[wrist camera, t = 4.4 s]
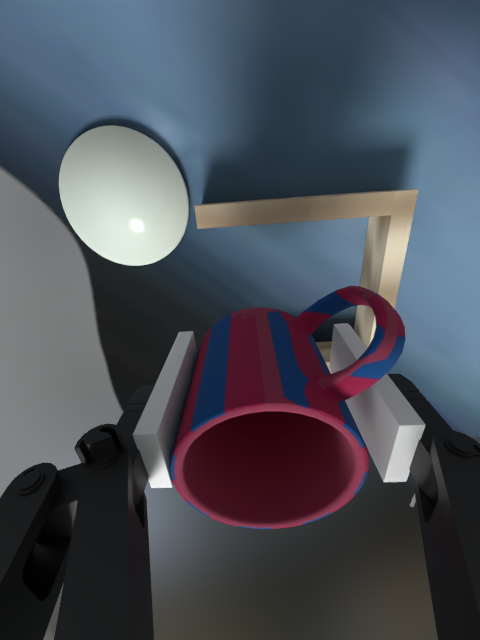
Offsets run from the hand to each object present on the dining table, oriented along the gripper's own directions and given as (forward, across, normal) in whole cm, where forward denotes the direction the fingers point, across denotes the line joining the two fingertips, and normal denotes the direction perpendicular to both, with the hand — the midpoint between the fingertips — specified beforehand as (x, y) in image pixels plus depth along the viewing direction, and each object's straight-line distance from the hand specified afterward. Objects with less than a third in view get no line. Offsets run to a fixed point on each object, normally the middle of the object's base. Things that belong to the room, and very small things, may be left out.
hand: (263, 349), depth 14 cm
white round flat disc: (+11, -10, +8) cm, 17 cm away
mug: (+1, +1, 0) cm, 1 cm away
